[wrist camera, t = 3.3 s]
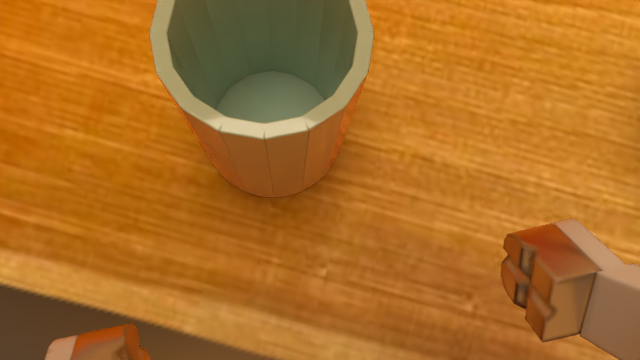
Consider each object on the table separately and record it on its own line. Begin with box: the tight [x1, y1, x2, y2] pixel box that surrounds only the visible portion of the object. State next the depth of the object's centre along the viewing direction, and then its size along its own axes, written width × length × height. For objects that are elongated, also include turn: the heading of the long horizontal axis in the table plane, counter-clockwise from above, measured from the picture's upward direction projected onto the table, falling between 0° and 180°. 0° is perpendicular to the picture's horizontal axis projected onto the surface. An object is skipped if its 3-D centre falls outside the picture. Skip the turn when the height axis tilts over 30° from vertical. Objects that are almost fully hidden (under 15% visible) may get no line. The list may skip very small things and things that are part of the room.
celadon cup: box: [149, 0, 374, 197], centre depth 18 cm, size 6×6×9 cm
